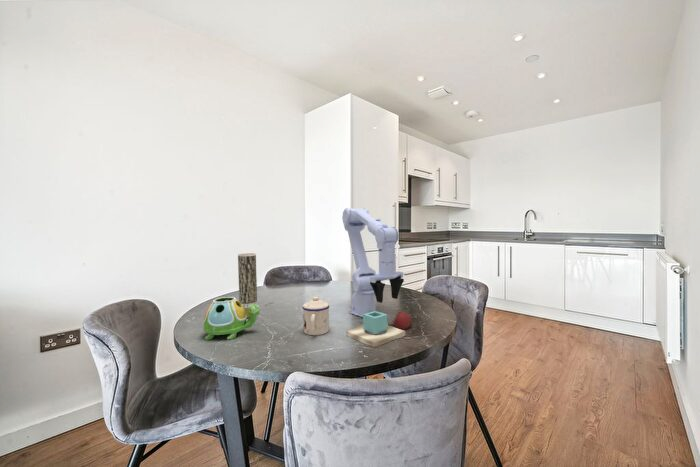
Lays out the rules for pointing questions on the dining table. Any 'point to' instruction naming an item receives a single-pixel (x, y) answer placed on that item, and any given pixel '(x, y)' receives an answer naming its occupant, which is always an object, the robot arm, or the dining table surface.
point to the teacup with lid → (316, 317)
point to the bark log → (247, 280)
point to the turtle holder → (228, 317)
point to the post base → (375, 336)
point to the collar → (375, 322)
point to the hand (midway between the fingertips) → (387, 300)
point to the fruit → (402, 320)
